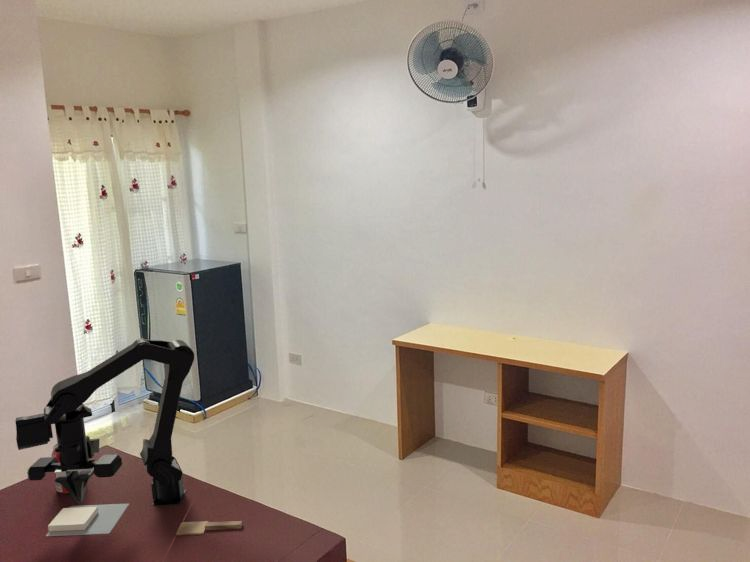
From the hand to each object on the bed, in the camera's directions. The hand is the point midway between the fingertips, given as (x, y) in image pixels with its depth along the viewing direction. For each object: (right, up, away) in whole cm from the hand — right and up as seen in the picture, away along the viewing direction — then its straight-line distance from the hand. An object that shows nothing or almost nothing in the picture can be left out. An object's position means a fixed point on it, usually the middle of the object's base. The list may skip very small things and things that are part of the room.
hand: (80, 501), depth 136 cm
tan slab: (+29, -5, -2) cm, 30 cm away
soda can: (-10, -3, +17) cm, 20 cm away
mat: (+1, -5, +2) cm, 6 cm away
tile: (+2, -4, +1) cm, 5 cm away
